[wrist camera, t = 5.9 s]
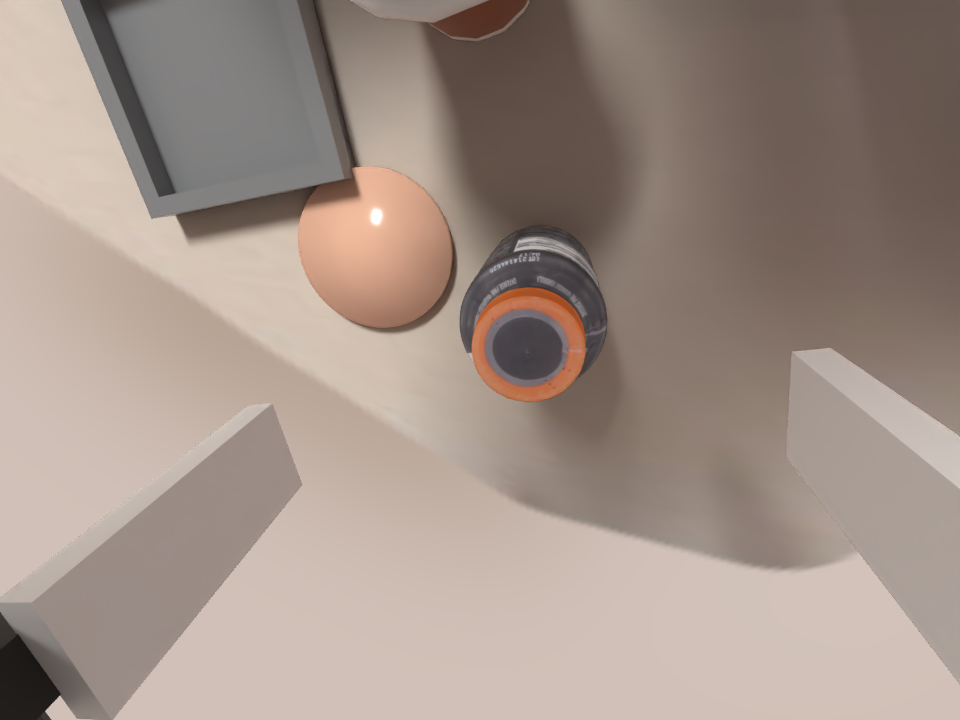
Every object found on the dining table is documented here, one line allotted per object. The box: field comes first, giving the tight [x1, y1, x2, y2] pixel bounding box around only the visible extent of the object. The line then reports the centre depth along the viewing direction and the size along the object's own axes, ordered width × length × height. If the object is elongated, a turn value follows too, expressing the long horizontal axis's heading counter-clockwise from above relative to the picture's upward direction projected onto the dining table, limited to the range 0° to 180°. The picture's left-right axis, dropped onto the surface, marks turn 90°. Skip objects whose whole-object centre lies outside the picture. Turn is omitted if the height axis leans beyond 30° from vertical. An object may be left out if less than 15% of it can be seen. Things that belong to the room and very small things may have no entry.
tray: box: [61, 0, 356, 219], centre depth 24 cm, size 12×12×2 cm
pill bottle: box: [460, 226, 607, 402], centre depth 22 cm, size 6×6×11 cm
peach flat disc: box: [298, 167, 453, 328], centre depth 27 cm, size 9×9×1 cm
